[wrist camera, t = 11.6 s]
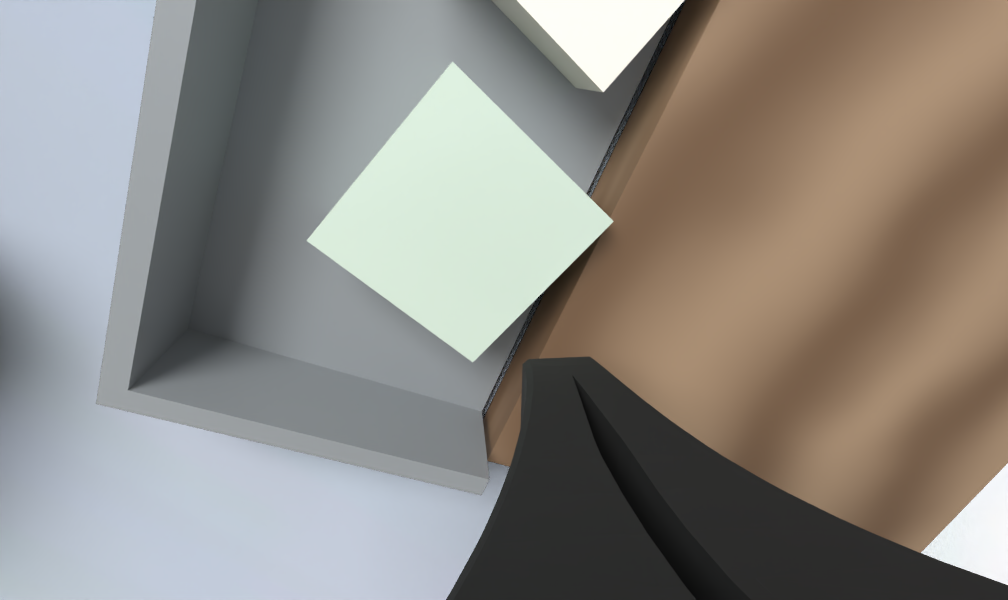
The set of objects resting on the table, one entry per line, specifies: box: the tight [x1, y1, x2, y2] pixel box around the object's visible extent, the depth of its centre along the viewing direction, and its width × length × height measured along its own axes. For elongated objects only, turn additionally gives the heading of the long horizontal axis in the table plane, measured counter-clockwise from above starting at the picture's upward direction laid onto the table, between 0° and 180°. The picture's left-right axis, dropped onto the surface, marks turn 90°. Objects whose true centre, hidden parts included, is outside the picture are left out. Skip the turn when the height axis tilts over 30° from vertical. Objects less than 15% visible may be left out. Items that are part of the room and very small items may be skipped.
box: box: [96, 0, 672, 495], centre depth 12 cm, size 10×18×4 cm, turn 157°
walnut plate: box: [483, 0, 1008, 553], centre depth 16 cm, size 18×18×2 cm
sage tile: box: [307, 62, 614, 362], centre depth 13 cm, size 5×5×2 cm
